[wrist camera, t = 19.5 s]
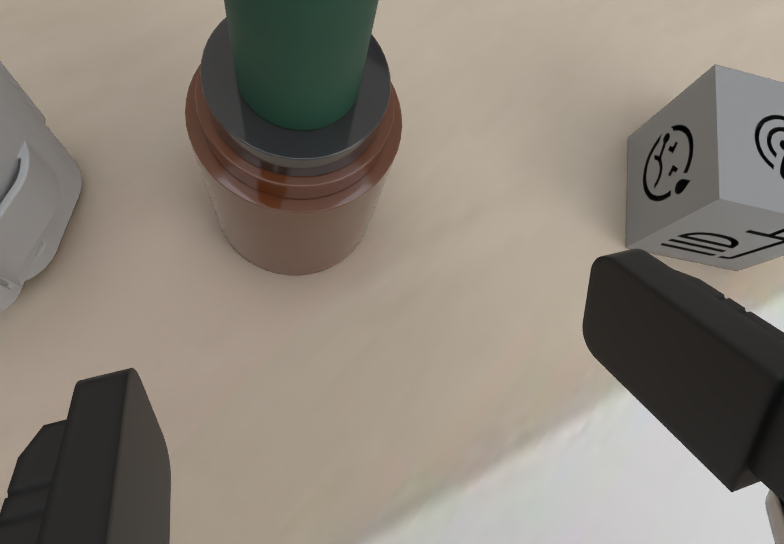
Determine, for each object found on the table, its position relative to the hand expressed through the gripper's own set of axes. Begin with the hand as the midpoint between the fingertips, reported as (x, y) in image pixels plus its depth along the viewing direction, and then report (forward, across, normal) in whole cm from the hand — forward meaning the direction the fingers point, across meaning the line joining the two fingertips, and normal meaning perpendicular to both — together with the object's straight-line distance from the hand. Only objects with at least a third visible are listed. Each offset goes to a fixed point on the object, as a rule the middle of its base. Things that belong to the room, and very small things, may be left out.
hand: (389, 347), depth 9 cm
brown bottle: (+30, -2, +10) cm, 32 cm away
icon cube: (+26, -33, +14) cm, 44 cm away
